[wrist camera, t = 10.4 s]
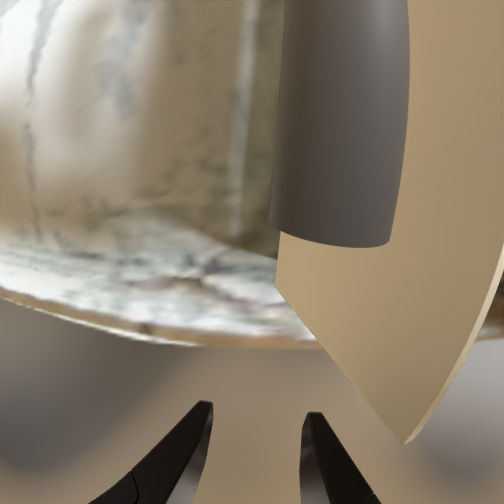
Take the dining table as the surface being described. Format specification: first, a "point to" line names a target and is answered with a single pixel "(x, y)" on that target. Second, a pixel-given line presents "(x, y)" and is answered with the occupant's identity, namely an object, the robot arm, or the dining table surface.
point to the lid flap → (391, 189)
